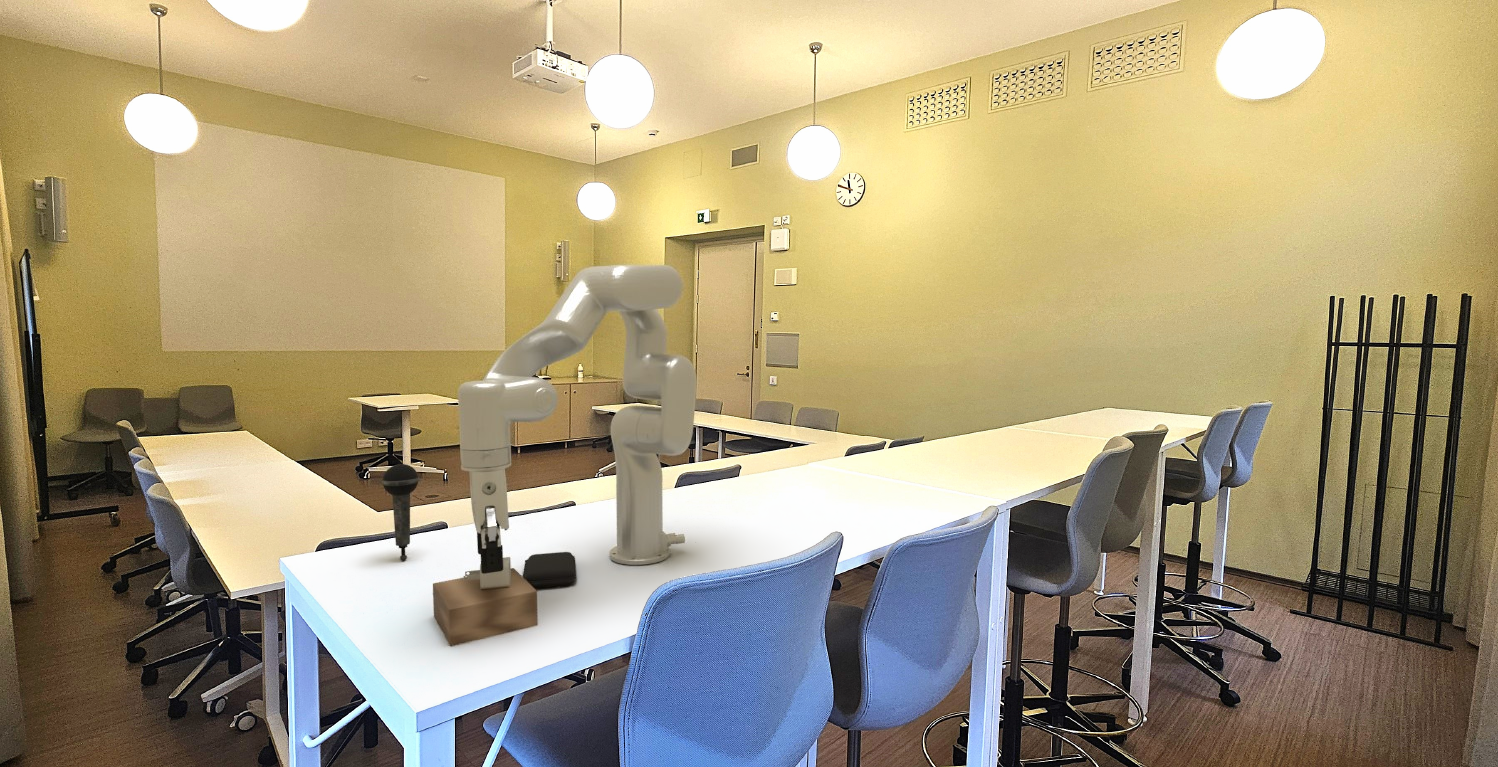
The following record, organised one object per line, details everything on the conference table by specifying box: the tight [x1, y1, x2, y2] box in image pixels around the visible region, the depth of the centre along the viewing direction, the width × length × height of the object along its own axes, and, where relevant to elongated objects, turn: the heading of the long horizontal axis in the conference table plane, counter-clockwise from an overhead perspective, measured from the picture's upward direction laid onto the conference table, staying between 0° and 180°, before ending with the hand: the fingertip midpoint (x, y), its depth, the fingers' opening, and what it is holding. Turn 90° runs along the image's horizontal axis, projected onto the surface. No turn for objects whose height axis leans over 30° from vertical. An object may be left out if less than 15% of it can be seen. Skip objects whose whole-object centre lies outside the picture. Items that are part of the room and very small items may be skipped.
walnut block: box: [432, 567, 539, 647], centre depth 109 cm, size 13×13×6 cm
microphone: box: [381, 463, 420, 562], centre depth 137 cm, size 7×7×20 cm
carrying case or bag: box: [522, 551, 577, 590], centre depth 130 cm, size 11×3×15 cm
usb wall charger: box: [462, 556, 512, 589], centre depth 109 cm, size 4×7×4 cm, turn 106°
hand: (490, 561), depth 109 cm, fingers open, 9 cm apart
